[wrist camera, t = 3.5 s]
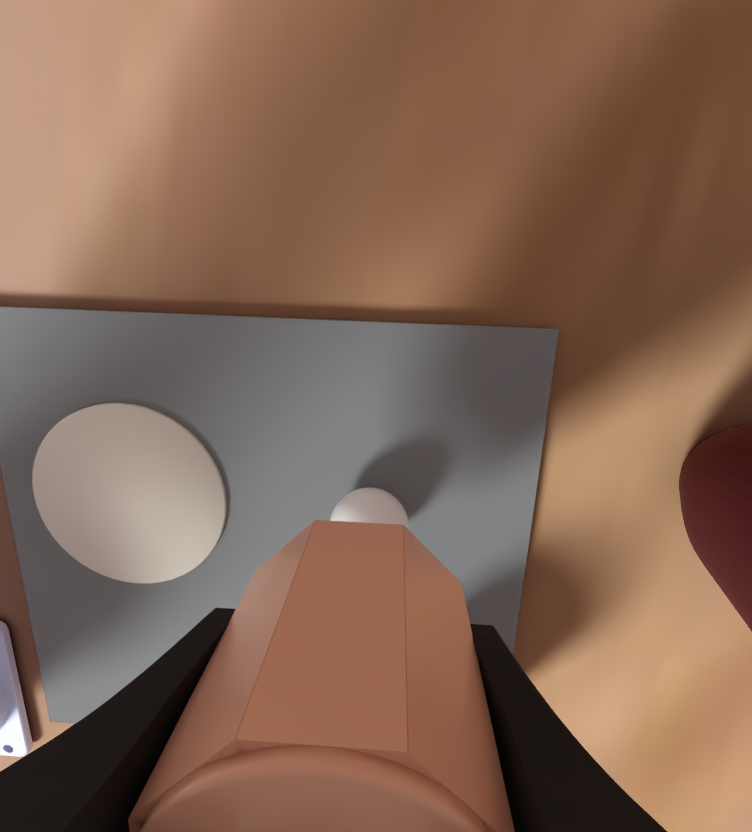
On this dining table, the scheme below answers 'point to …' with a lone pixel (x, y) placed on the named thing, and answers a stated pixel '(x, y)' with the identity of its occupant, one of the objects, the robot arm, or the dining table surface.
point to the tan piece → (337, 701)
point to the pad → (129, 492)
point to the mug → (722, 511)
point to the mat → (273, 459)
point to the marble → (370, 508)
